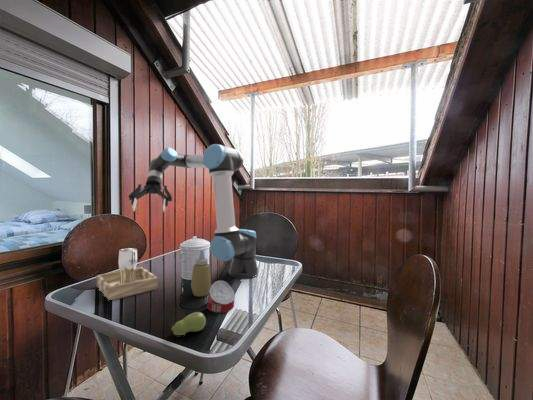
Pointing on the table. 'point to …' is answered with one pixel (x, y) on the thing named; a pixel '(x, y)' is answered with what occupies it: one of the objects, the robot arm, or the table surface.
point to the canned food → (220, 297)
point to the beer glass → (127, 265)
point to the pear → (190, 324)
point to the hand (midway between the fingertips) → (148, 210)
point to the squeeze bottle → (201, 276)
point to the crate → (126, 284)
